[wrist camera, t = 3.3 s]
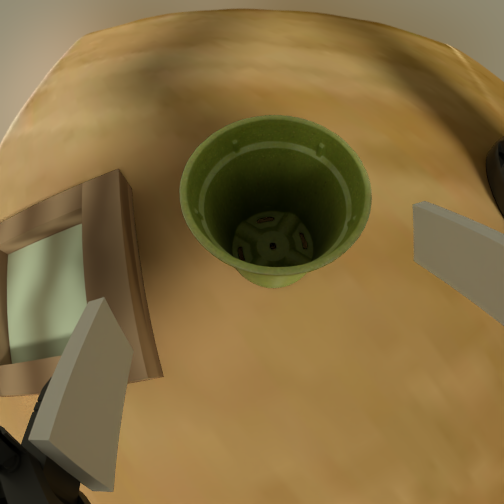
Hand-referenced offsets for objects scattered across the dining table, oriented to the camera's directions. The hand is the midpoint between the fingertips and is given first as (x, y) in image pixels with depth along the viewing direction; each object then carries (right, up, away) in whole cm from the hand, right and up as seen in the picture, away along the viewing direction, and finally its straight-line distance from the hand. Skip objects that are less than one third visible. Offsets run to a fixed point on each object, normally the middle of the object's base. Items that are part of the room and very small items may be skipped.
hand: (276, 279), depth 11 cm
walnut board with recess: (-18, -3, +10) cm, 21 cm away
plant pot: (+1, +1, +11) cm, 11 cm away
